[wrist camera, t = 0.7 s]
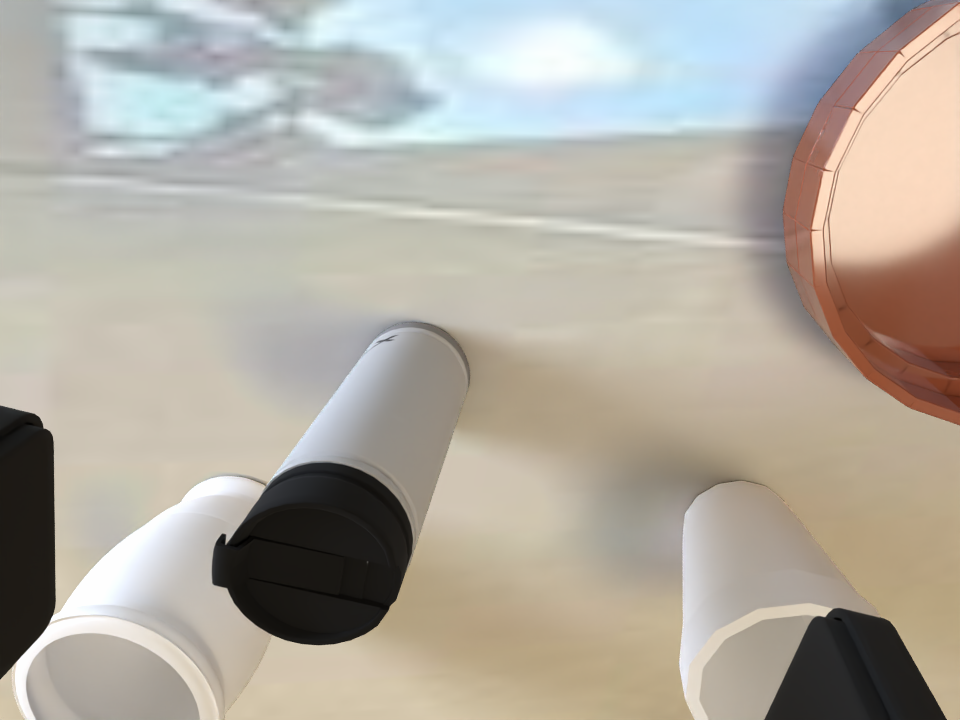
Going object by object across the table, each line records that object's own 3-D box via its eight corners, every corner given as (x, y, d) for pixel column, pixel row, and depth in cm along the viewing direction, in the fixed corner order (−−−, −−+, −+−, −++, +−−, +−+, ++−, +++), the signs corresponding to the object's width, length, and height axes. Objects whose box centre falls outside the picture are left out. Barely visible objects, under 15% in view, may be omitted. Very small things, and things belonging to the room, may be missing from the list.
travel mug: (367, 308, 44) (214, 487, 25) (480, 334, 43) (409, 534, 25) (352, 405, 46) (201, 634, 27) (459, 430, 46) (380, 679, 27)
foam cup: (710, 431, 44) (762, 569, 32) (851, 499, 44) (954, 660, 32) (628, 552, 47) (647, 719, 35) (760, 614, 48) (823, 799, 36)
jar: (215, 427, 48) (67, 576, 34) (349, 524, 49) (259, 705, 35) (137, 535, 51) (-27, 709, 37) (263, 622, 53) (151, 821, 39)
